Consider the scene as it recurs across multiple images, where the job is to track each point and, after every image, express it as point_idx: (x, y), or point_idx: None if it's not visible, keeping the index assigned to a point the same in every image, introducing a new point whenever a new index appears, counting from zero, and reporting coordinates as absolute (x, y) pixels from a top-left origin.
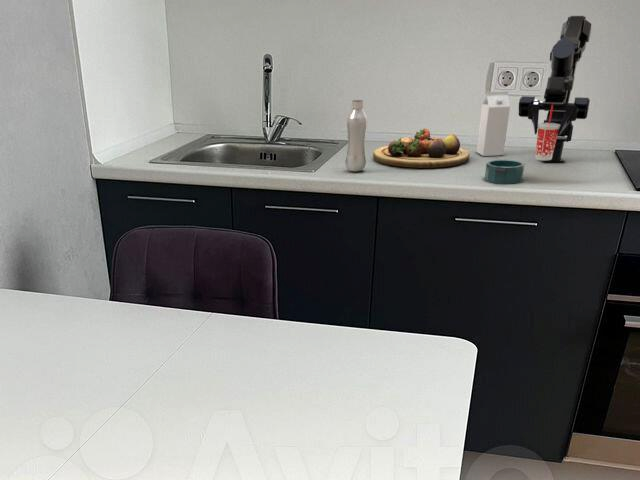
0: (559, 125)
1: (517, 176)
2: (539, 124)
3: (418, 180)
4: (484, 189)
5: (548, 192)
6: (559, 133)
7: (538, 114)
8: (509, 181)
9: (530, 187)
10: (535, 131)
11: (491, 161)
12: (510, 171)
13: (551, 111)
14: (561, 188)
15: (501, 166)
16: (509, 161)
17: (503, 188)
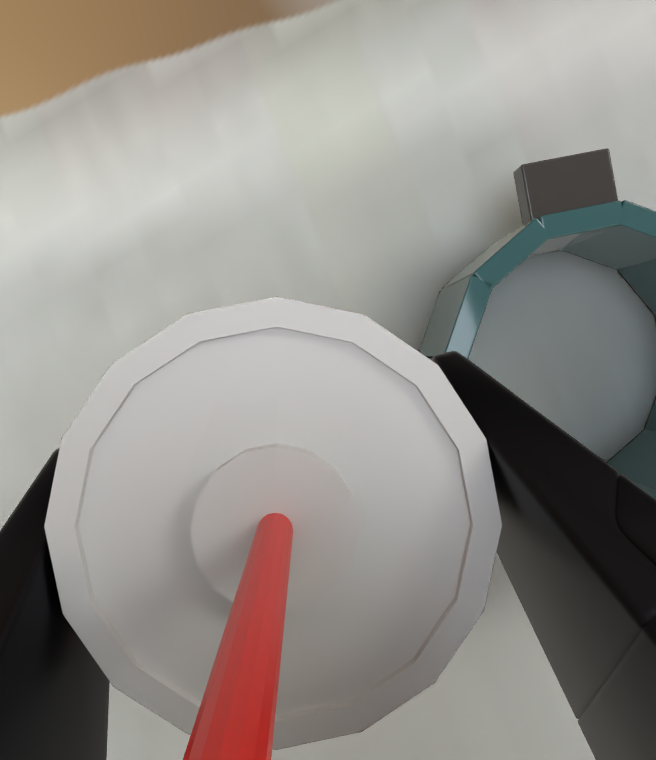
0: (54, 529)
1: (441, 311)
2: (463, 480)
3: None
4: (549, 9)
5: (130, 153)
6: None
7: (637, 625)
8: (471, 263)
9: (295, 236)
10: (451, 355)
11: None
12: (497, 246)
13: (235, 617)
14: (96, 320)
15: (653, 471)
16: None
17: (446, 108)
